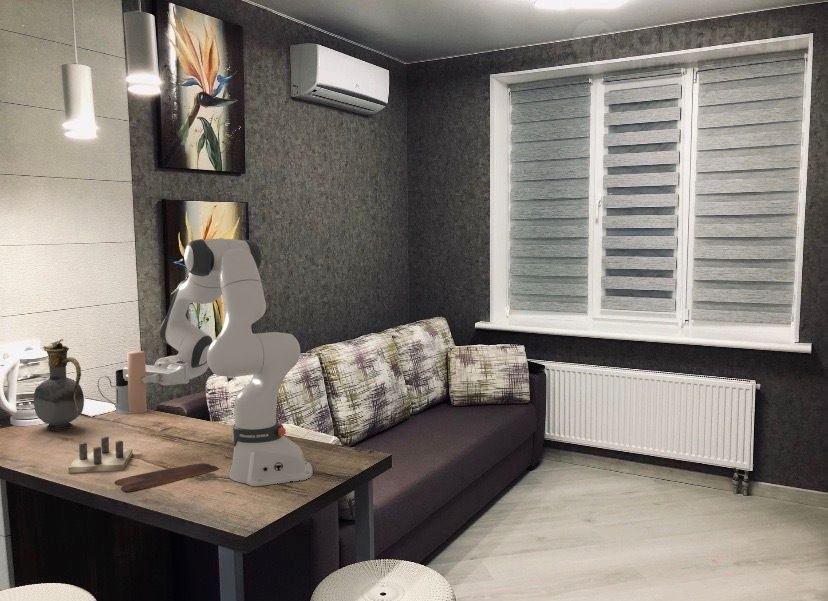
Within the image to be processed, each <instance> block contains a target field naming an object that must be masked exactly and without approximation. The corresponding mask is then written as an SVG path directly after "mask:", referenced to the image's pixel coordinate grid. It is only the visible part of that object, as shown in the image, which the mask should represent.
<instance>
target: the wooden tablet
mask: <svg viewBox="0 0 828 601" xmlns="http://www.w3.org/2000/svg"><path fill="white" fill-rule="evenodd" d="M217 470H219V467H218V466H216V465H213V464H211V463H204V462H203V463H202V462H201V463H195V464H187V465H182V466H176V467H169V468H164V469H158V470H155V471H154V470H153V471H148V472H144V473H140V474H135V475H132V476H131V475H130V476H126V477H124V478H120V479H116V480H115V481H114V485H115V486H118V487H120V490H121V491H122V492H124V493H131V492H136V491H139V490H144V489H149V487H150V488H153V486H154V487H158V486H161V484H162V485H165V483H166V484H170V483H173V481H174V482H177V480H178V481H180V480H181V479H182V480H185V479H188V478H189V479H190V478H194V477H195V476H200V475H201V476H202V475H203V474H207V473H211V472H214V471H217ZM169 482H170V483H169ZM157 485H158V486H157Z"/></svg>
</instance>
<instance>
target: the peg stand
mask: <svg viewBox="0 0 828 601" xmlns="http://www.w3.org/2000/svg"><path fill="white" fill-rule="evenodd" d="M100 442H101V443H100V444H101V446H95V447H93V450H88V443H87V442H86V441H85V442H84V441H83V442H79V444H78V450H79V452H78V455H77V456H76V457H75V458H74V460H73V461H72V462H71V463H70V465H69V466H68V474H70V473H71V474H72V473H73V474H74V473H89V472H90V473H91V472H107V471H108V472H110V471H111V472H112V471H124V469H125V468H126V466H127V465H128V462H129V460H130V459H131V457H132V455H133V449H132V448H124V440H116V441H115V449H110V438H109V436H101V438H100Z"/></svg>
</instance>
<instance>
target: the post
mask: <svg viewBox="0 0 828 601" xmlns="http://www.w3.org/2000/svg"><path fill="white" fill-rule="evenodd" d="M126 357H127V363H126V365H127V367H128V399H129V413H133V414H142V413H146V412H148V411H147V410H148V409H147V383H142V382H141V377H144V376H146V366H145V365H146V351H144V350H134V351H133V350H132V351H128V352H127V353H126Z"/></svg>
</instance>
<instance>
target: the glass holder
mask: <svg viewBox="0 0 828 601" xmlns="http://www.w3.org/2000/svg"><path fill="white" fill-rule="evenodd" d="M123 369H124V368H123ZM123 369H117V370H116V371H115V385H112V380H111V378H110V376H107V375H102V376H99V378H98V379H97V383H96V384H97V389H98V391H99V393H100V395H101V396H102V397H103V399H105V400H106V401H108V402H110V403H112V404H113V405H114V408H115V410H116V411H115V410H114V413H115V414H117V413H119V414H118V415H132V414H134V413H129V399H128V381H125V379H124V378H123ZM102 378H107V379H108V380H109V385H110V387H111V388H115V402H113V401H112V400H111V399H109V398H107V397H106V396H105V395H104V394H103V393H102V391H101V389H100V384H99V382H100V380H101V379H102Z"/></svg>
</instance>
